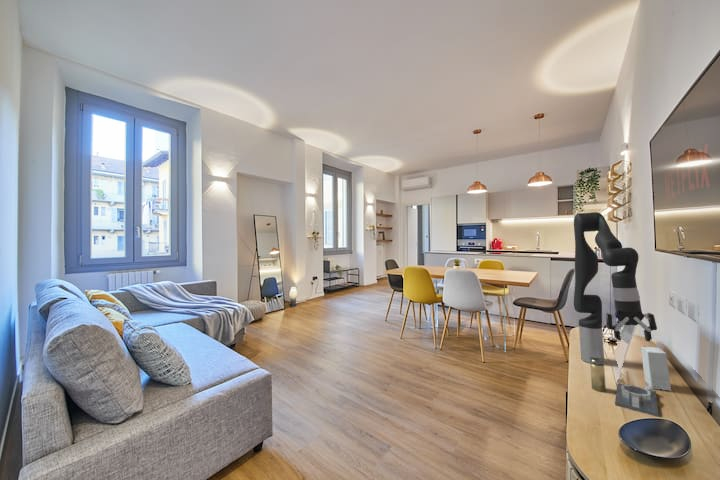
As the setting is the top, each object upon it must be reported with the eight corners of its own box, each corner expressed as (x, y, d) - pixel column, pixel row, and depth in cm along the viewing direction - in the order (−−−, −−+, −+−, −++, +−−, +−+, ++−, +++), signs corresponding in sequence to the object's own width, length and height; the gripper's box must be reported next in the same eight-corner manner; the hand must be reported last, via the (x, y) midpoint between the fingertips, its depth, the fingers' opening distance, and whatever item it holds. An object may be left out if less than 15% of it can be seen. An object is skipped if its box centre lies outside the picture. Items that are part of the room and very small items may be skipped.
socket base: (617, 385, 119) (617, 376, 119) (655, 393, 111) (655, 384, 111) (615, 405, 105) (614, 395, 105) (658, 416, 97) (657, 406, 97)
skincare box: (671, 391, 112) (668, 353, 113) (650, 388, 115) (647, 351, 116) (662, 382, 119) (659, 347, 120) (642, 380, 122) (640, 345, 123)
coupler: (592, 385, 120) (590, 356, 120) (606, 388, 116) (604, 359, 117) (590, 389, 116) (588, 359, 117) (605, 393, 113) (603, 362, 113)
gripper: (646, 296, 112) (653, 338, 111) (600, 297, 118) (606, 337, 117) (655, 300, 105) (662, 344, 104) (606, 300, 112) (612, 342, 111)
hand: (633, 340), depth 111 cm, fingers open, 8 cm apart
